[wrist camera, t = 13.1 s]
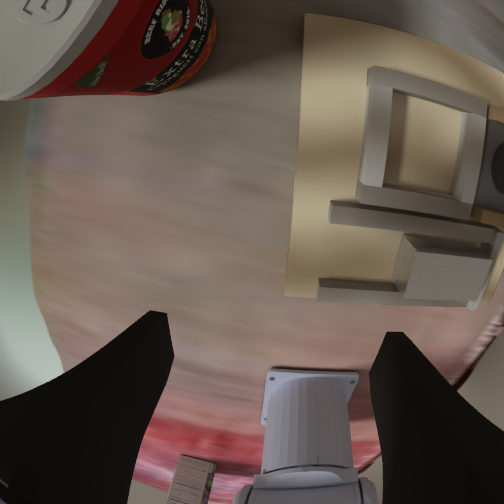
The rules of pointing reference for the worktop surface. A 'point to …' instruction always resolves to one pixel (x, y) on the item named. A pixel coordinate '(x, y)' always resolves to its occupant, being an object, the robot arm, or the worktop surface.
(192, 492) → the syrup box
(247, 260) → the worktop surface
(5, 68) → the canned food
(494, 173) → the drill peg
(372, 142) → the socket board
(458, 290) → the gray rectangular block
